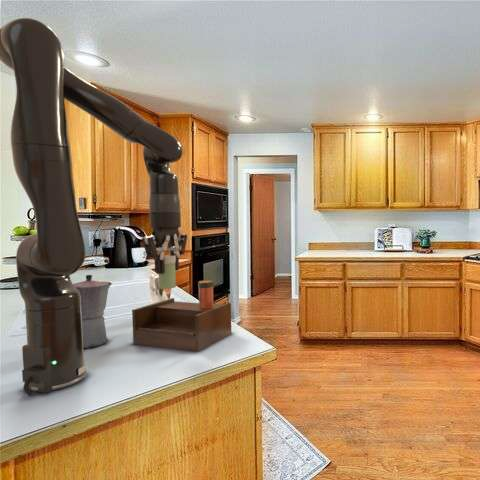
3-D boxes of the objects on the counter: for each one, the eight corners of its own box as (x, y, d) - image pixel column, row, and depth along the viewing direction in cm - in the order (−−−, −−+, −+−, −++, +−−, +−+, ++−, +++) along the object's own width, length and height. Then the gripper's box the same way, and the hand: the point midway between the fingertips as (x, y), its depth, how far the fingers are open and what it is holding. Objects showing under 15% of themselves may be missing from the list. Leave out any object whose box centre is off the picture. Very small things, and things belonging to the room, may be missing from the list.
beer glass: (147, 319, 125) (146, 277, 124) (153, 314, 131) (152, 274, 130) (169, 318, 127) (168, 277, 126) (174, 313, 133) (172, 274, 132)
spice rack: (198, 351, 96) (197, 315, 95) (133, 343, 101) (132, 309, 101) (231, 333, 111) (230, 302, 110) (172, 327, 116) (171, 298, 115)
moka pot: (124, 337, 107) (121, 272, 105) (70, 357, 92) (66, 281, 90) (100, 334, 109) (97, 270, 108) (44, 353, 94) (40, 279, 93)
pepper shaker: (207, 309, 105) (207, 283, 105) (195, 308, 106) (195, 282, 106) (216, 306, 109) (216, 280, 109) (205, 305, 110) (204, 280, 110)
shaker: (167, 289, 96) (166, 256, 95) (154, 288, 97) (153, 256, 97) (180, 286, 100) (179, 255, 100) (167, 285, 101) (166, 254, 101)
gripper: (173, 211, 105) (175, 267, 106) (131, 210, 91) (134, 275, 92) (194, 211, 103) (196, 268, 104) (155, 210, 89) (157, 277, 91)
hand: (167, 271), depth 98 cm, fingers closed on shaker, 4 cm apart
